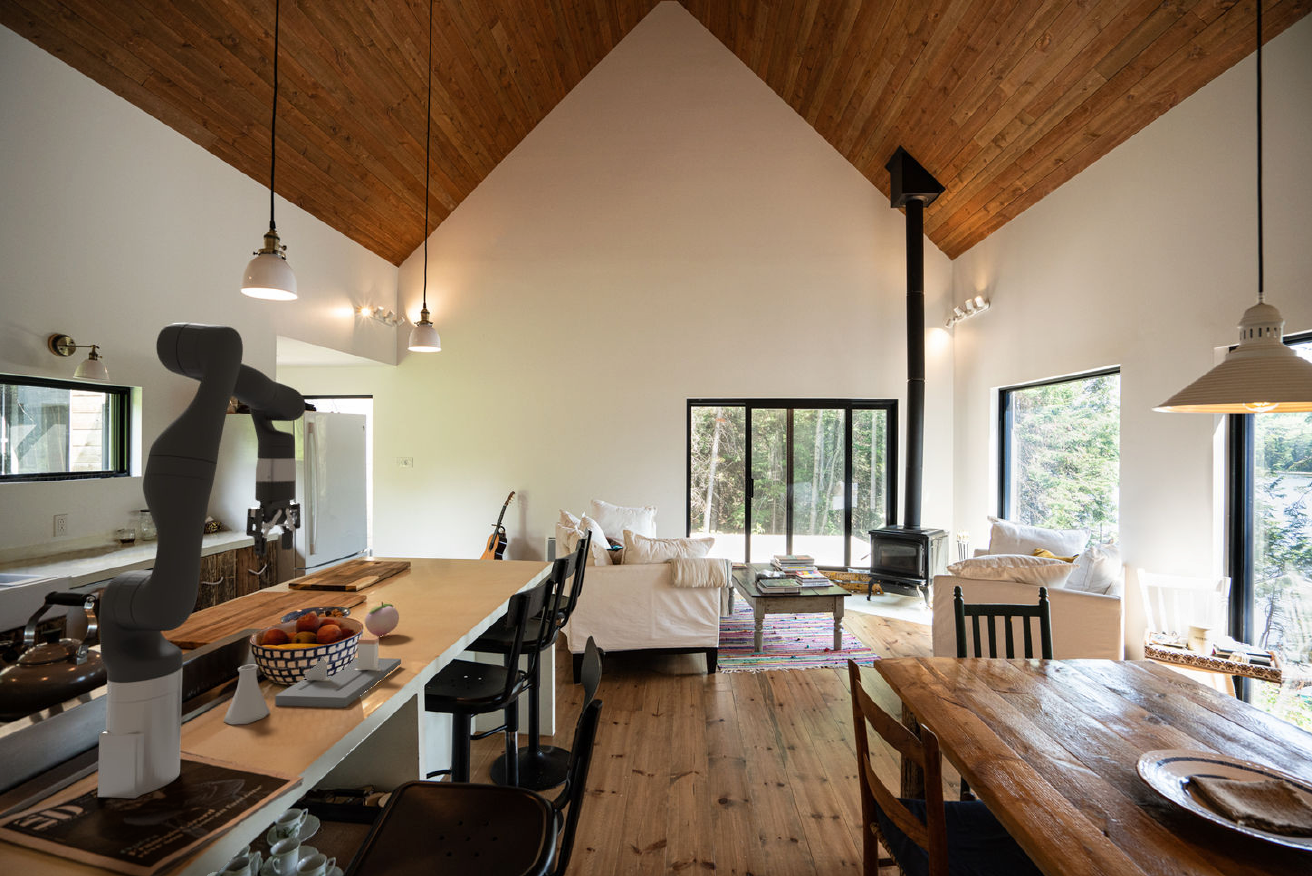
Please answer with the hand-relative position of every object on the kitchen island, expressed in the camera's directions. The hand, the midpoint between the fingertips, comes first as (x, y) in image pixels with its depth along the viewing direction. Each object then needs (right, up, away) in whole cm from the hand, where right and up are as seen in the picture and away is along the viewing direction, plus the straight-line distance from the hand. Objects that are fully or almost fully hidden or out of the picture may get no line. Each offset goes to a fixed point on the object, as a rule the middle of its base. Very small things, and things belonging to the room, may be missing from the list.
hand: (274, 552), depth 136 cm
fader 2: (+18, -28, +6) cm, 34 cm away
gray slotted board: (+14, -30, +2) cm, 33 cm away
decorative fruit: (+7, -31, +38) cm, 50 cm away
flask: (+4, -30, -15) cm, 34 cm away
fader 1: (+9, -28, 0) cm, 29 cm away
